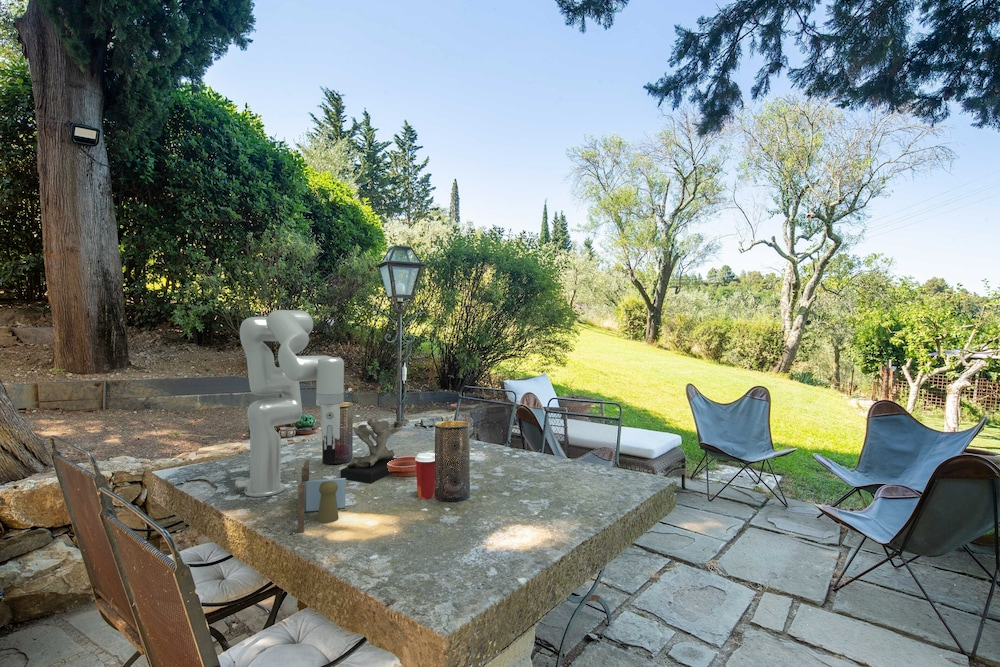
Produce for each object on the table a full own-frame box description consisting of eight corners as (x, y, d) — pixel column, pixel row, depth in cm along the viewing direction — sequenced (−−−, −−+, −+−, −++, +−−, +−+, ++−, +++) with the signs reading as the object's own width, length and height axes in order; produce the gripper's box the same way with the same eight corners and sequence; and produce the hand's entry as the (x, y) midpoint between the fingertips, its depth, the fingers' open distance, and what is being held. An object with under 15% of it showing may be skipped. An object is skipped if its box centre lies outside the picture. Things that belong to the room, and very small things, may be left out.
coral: (379, 462, 202) (380, 411, 202) (421, 468, 194) (421, 415, 194) (338, 478, 179) (339, 421, 179) (383, 486, 171) (384, 427, 171)
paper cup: (441, 494, 164) (442, 453, 164) (429, 501, 157) (429, 459, 157) (422, 490, 167) (423, 451, 167) (409, 497, 160) (410, 456, 160)
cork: (320, 515, 144) (320, 479, 144) (340, 515, 145) (341, 478, 145) (314, 523, 138) (315, 485, 138) (336, 523, 139) (336, 485, 139)
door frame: (296, 533, 131) (297, 486, 131) (303, 499, 157) (304, 459, 157) (304, 532, 132) (305, 485, 132) (310, 498, 158) (310, 459, 158)
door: (345, 507, 149) (345, 479, 149) (302, 511, 145) (302, 482, 145) (345, 506, 151) (345, 477, 150) (302, 510, 146) (302, 481, 146)
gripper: (344, 402, 134) (343, 468, 134) (342, 395, 148) (342, 454, 148) (315, 403, 132) (314, 470, 132) (317, 396, 146) (316, 456, 146)
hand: (329, 461), depth 140 cm, fingers closed
